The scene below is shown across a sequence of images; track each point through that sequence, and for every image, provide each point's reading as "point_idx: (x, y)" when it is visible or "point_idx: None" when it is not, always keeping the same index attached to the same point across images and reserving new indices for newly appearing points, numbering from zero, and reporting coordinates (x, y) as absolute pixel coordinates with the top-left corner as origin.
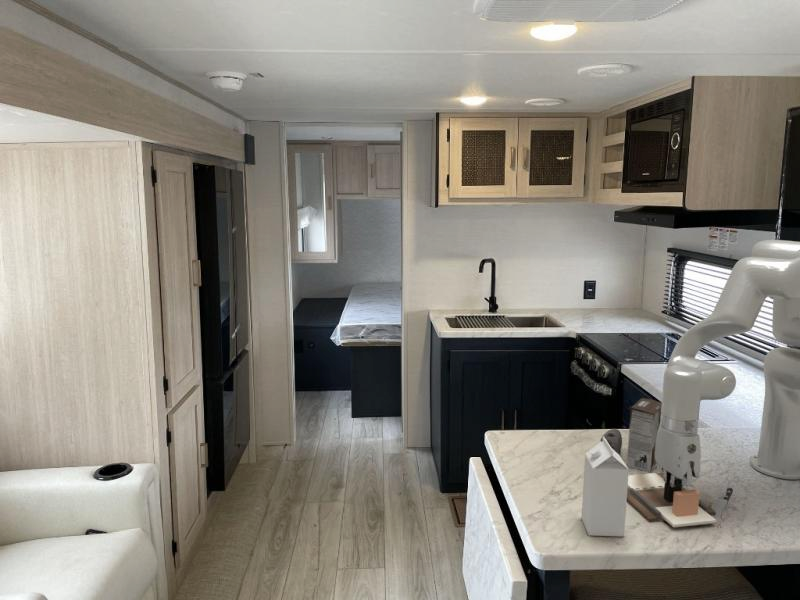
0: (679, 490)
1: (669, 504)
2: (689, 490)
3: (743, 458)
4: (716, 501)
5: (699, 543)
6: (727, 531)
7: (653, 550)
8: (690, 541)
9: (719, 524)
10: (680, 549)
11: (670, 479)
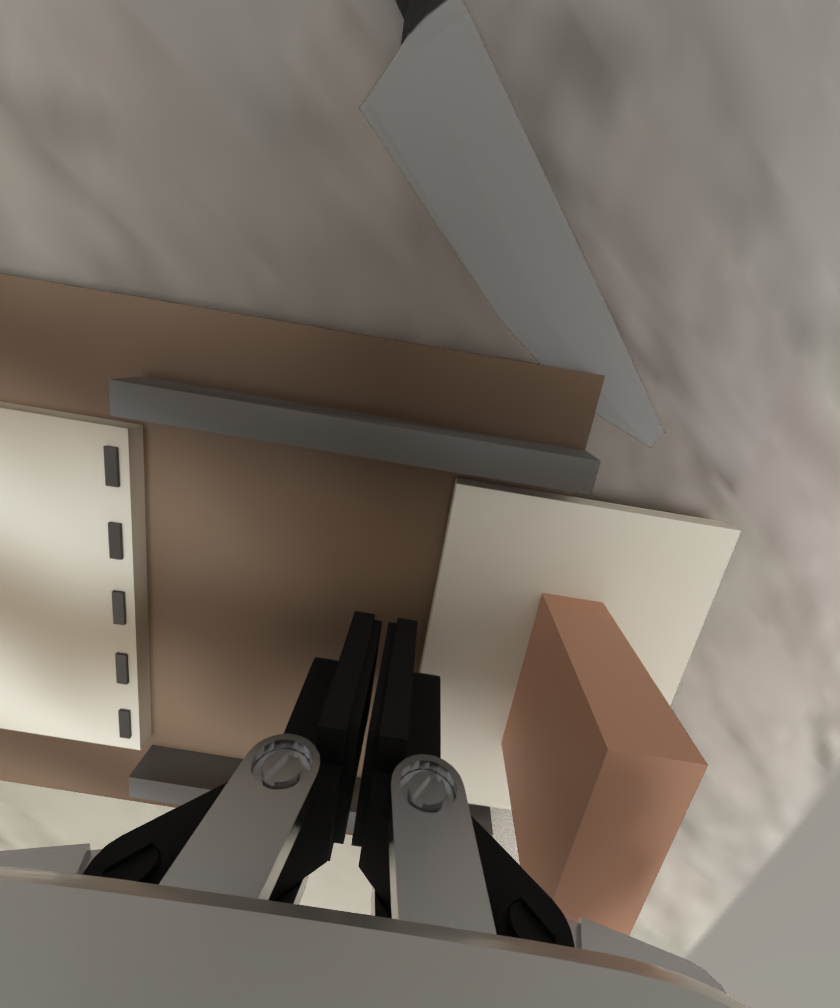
0: (439, 754)
1: None
2: (595, 817)
3: None
4: (422, 145)
5: (776, 751)
6: (800, 484)
7: None
8: (732, 777)
9: (704, 460)
10: (751, 865)
11: (309, 861)
